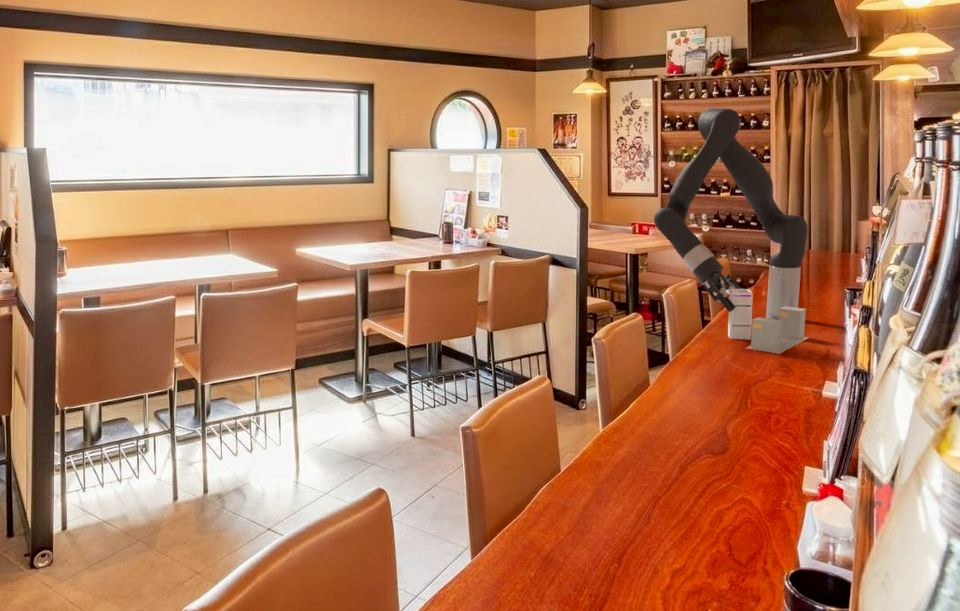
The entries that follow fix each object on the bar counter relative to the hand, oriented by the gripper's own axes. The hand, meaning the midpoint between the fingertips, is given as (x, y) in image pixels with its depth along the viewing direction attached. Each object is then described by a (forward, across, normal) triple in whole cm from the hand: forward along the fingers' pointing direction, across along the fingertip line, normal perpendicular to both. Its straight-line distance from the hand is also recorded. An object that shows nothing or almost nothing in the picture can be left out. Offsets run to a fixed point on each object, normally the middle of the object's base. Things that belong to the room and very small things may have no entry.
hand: (739, 307), depth 211 cm
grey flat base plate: (+15, 0, -1) cm, 15 cm away
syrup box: (+7, 0, +7) cm, 10 cm away
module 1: (+14, -9, -2) cm, 17 cm away
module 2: (+14, +10, -2) cm, 17 cm away
